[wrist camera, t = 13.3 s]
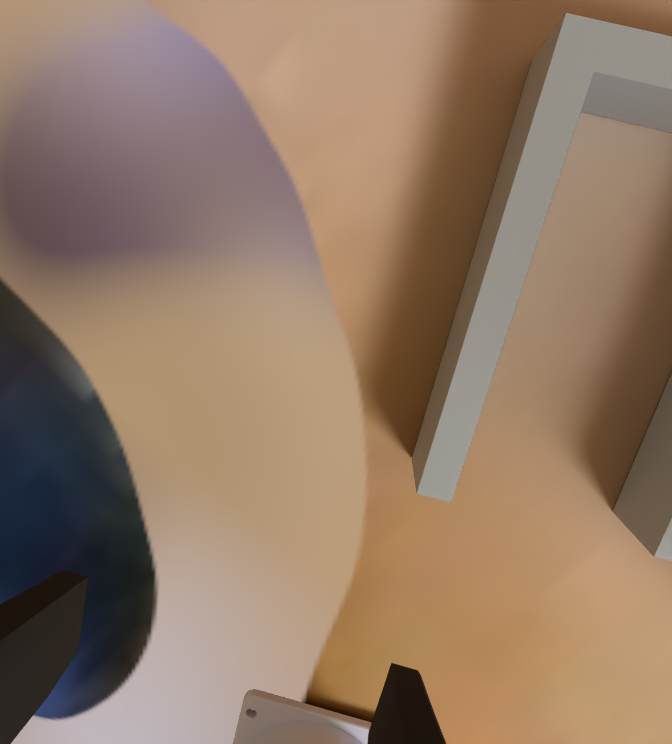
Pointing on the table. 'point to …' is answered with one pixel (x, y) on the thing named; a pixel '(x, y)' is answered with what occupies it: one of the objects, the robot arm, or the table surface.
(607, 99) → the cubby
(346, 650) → the table surface
